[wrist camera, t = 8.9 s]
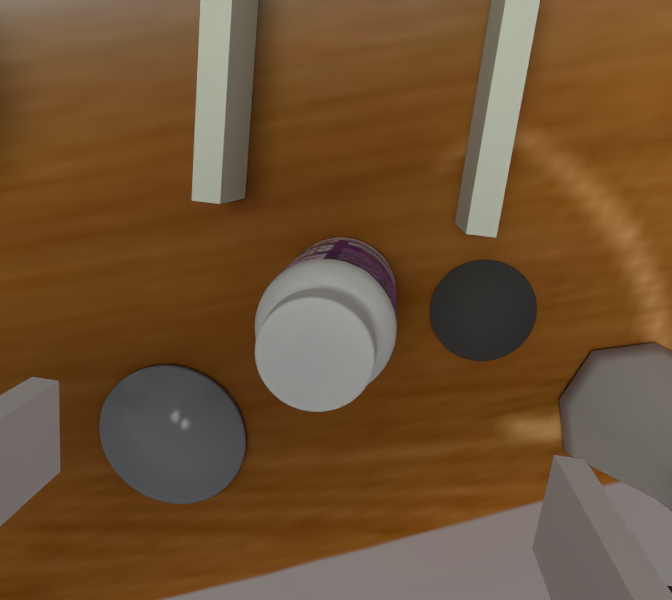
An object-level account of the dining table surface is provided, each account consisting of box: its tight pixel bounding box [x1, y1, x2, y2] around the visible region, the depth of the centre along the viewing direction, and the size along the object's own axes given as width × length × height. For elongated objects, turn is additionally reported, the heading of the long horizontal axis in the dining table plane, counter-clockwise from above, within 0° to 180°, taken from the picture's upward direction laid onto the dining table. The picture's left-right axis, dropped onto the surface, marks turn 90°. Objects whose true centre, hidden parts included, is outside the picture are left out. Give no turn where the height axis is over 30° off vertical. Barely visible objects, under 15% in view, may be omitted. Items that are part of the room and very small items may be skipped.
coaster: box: [99, 364, 246, 504], centre depth 30 cm, size 8×8×1 cm
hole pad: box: [430, 260, 536, 361], centre depth 27 cm, size 5×5×1 cm
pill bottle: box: [255, 237, 397, 412], centre depth 22 cm, size 5×5×10 cm
